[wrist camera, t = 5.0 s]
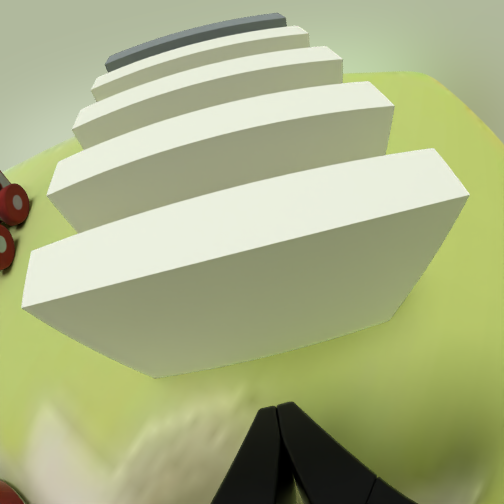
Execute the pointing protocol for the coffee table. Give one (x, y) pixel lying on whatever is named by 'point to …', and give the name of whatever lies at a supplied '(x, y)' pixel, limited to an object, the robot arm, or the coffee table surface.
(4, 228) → the toy fire truck
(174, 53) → the domino
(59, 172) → the domino
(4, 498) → the soda can
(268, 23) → the domino
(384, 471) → the coffee table surface
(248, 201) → the domino
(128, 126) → the domino
